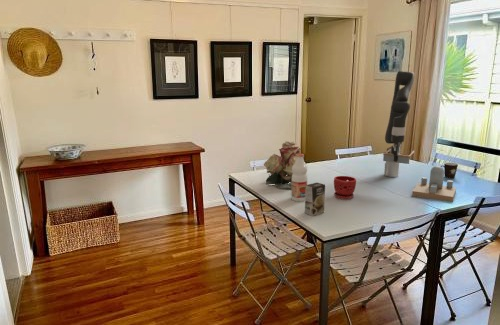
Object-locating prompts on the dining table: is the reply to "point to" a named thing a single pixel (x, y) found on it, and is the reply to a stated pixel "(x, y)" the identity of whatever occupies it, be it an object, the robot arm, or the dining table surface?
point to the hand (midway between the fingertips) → (395, 160)
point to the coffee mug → (450, 169)
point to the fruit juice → (299, 179)
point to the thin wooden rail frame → (401, 158)
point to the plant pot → (344, 187)
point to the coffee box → (314, 199)
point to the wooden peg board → (435, 186)
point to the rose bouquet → (282, 165)
